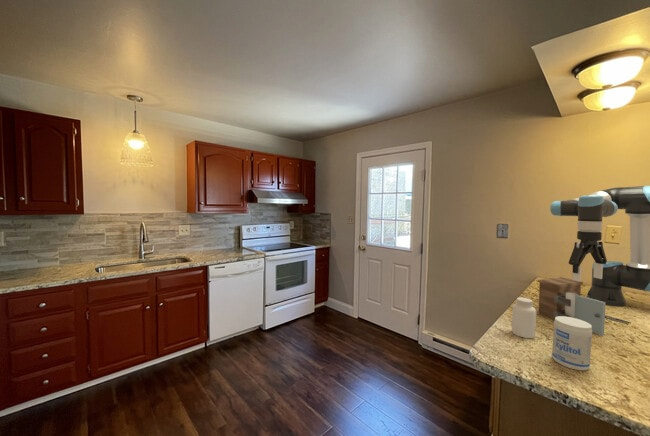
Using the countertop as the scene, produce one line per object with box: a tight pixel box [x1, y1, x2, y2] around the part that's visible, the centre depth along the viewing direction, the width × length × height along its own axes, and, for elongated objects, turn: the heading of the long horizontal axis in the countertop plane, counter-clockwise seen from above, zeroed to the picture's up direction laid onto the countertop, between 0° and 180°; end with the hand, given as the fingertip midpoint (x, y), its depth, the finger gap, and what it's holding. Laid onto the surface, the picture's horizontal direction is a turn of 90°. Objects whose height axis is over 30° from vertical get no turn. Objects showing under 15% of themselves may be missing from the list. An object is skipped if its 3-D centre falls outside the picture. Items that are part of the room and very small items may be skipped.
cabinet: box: [537, 276, 584, 321], centre depth 128 cm, size 18×14×17 cm
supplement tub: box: [551, 316, 593, 371], centre depth 90 cm, size 10×10×15 cm
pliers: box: [605, 314, 632, 325], centre depth 131 cm, size 10×1×20 cm
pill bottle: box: [511, 297, 537, 339], centre depth 111 cm, size 8×8×15 cm
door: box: [565, 292, 606, 337], centre depth 116 cm, size 4×14×14 cm, turn 16°
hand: (587, 279), depth 115 cm, fingers open, 13 cm apart
